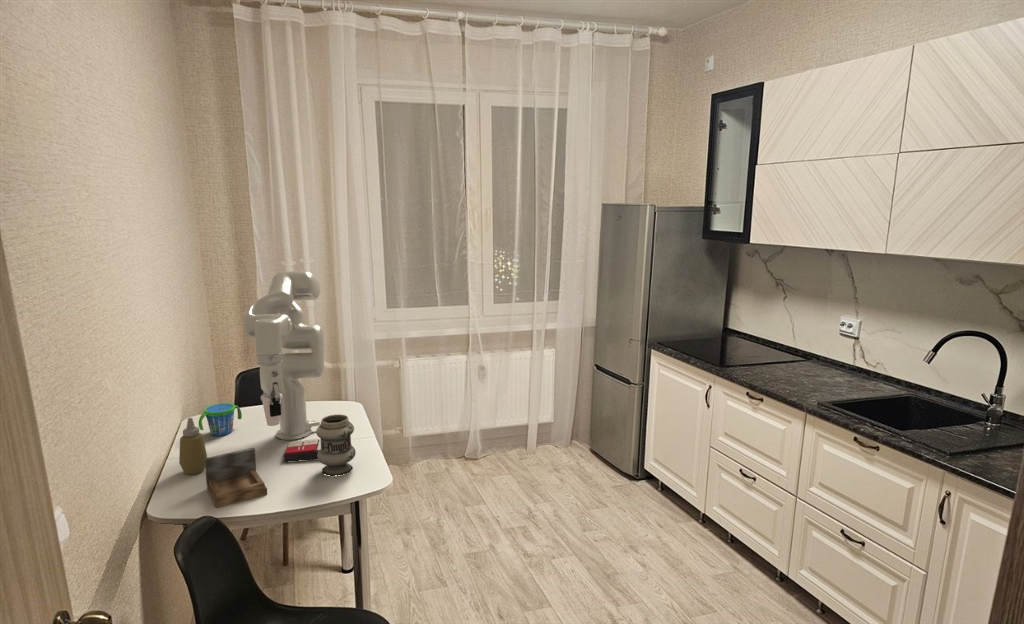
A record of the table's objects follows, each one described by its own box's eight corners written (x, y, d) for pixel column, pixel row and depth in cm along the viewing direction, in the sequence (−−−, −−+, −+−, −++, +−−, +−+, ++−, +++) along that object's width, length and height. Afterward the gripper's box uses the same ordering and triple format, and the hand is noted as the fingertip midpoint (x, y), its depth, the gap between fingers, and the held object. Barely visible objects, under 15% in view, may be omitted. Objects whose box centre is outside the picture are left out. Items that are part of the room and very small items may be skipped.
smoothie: (276, 428, 182) (273, 385, 180) (258, 426, 184) (255, 384, 181) (288, 421, 188) (285, 379, 186) (270, 419, 190) (267, 378, 187)
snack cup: (205, 442, 213) (203, 415, 211) (194, 434, 220) (192, 409, 218) (248, 431, 224) (246, 405, 222) (236, 424, 231) (235, 399, 229)
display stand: (255, 477, 186) (253, 447, 184) (267, 494, 175) (265, 462, 173) (206, 489, 177) (204, 458, 176) (216, 507, 166) (213, 475, 165)
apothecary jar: (317, 465, 195) (314, 414, 192) (354, 460, 199) (352, 410, 196) (319, 480, 184) (316, 426, 181) (358, 475, 188) (356, 422, 185)
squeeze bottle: (187, 466, 193) (182, 414, 190) (212, 465, 194) (208, 414, 191) (175, 477, 185) (170, 423, 182) (201, 476, 186) (197, 422, 183)
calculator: (287, 441, 207) (331, 435, 210) (289, 452, 208) (332, 447, 211) (283, 453, 196) (329, 447, 199) (284, 465, 197) (330, 459, 200)
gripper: (289, 362, 177) (292, 418, 181) (274, 350, 191) (277, 402, 194) (264, 366, 173) (267, 423, 176) (249, 353, 187) (253, 407, 190)
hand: (272, 412), depth 185 cm, fingers closed on smoothie, 6 cm apart
